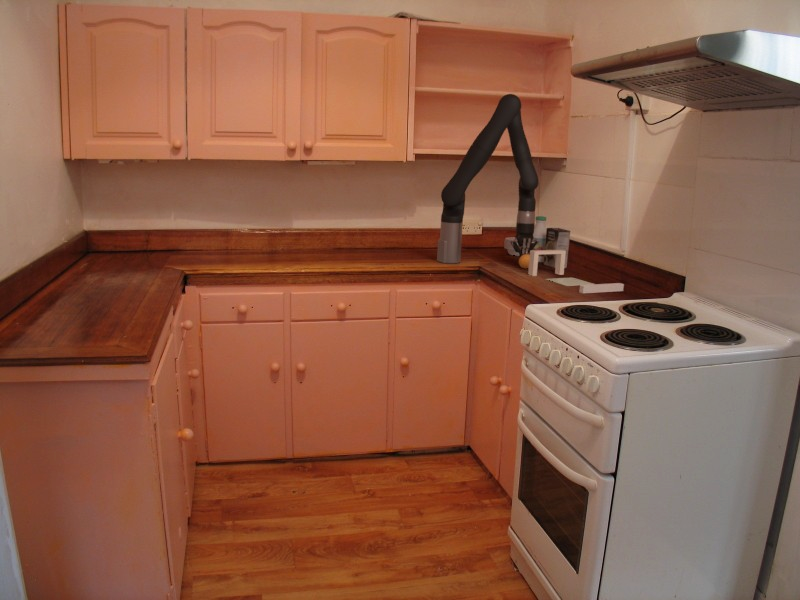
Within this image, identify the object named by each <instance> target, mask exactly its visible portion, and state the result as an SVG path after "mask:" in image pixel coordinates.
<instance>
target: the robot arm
mask: <svg viewBox="0 0 800 600" xmlns="http://www.w3.org/2000/svg"><path fill="white" fill-rule="evenodd" d="M521 111H522V101H521V99H520V98H519V96H518V95H516V94H513V93H508V94H505V95H503V96H502V97H501V98H500V99H499V100H498V104H497V106H496V108H495V110H494V112H493V113H492V116H491V118H490V119H489V121H488V122H487V123H486V125H485V126H484V128H482V130H481V131H480V132H479V134H478V135H477V136H476V138H475V139H474V140H473V142H472V143H471V145H470V147H469V148H468V150H467V152H466V153H465V155H464V157H463V159H462V160H461V163H460V164H459V166H458V168H457V170H456V172H454V174H453V176H452V177H451V178H450V180H449V181H448V182H447V184H445V186H444V187H443V189H442V190H441V195H440V198H441V201H442V203H443V205H442V213H441V215H440V231H439V234H440V236H439V238H438V239H437V250H436V251H437V252H436V253H437V255H436V261H437V262H439V263H442V264H460V263H461V255H462V253H461V252H462V241H463V240H462V239H463V221H464V215H465V207H466V206H465V205H466V190H467V189H468V187H469V186H470V184H471V182H472V181H473V179H474V178H475V177H476V176H477V175H478V174H479V173H480V172H481V170H482V169H483V168H484V167H485V166H486V164H488V161H489V160H490V159H491V157H492V155H493V153H494V152H495V150H496V149H497V147H498V145H499V142H500V140H501V139H502V137H503V135H504V133H505V131H506V129H507V133H508V137H509V142H510V148H511V152H512V157H513V161H514V163H515V167H516V169H517V171H518V173H519V180H518V206H517V215H516V224H515V225H516V226H515V233H516V234H515V239H514V240H513V241H511V242H510V243H511V245H512V246H513V248H514V250H515V251H516V252H518V253H519V256H518V257H519V258H520V257H521V256H522V255H524V254H528V253H529V252H530V250H533V248H534V247H535V246H536V244H537V243H538V241H536V240H534V239H533V238H534V237H533V233H534V227H535V224H536V204H537V203H536V201H537V200H536V198H535V193H536V192H535V190H537V188H538V186H539V184H540V181H539V176H538V173H537V170H536V168H535V165H534V162H533V158H532V153H531V148H530V146H529V142H528V140H527V137H526V133H525V130H524V126H523V120H522V112H521ZM517 244H518V245H517ZM519 258H518V259H519ZM459 262H460V263H459Z"/></svg>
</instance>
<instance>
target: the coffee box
mask: <svg viewBox="0 0 800 600" xmlns="http://www.w3.org/2000/svg"><path fill="white" fill-rule="evenodd" d="M546 229H547V231H546V242H545V250H565V251H566V255H565V265H564V269H566V268H567V265H568V257H569V247H570V239H571V237H570V236H571V230H569V229H565V228H561V227H546ZM556 257H557V254H544V262H543V265H544V266H547V267H551V268H553V269H555V268H556Z"/></svg>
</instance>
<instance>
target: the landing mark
mask: <svg viewBox="0 0 800 600" xmlns="http://www.w3.org/2000/svg"><path fill="white" fill-rule="evenodd" d="M545 280H546V281H549V280H550V282H552V281H553V282H552V283H556V284H559V285H563V286H565V287H571V286H572V287H573V286H580V285H594V284H595V283H593V282H589V281H586V280H582V279H579V278H575V277H557V278H554V277H553V278H545Z"/></svg>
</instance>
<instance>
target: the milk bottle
mask: <svg viewBox="0 0 800 600" xmlns="http://www.w3.org/2000/svg"><path fill="white" fill-rule="evenodd" d="M546 222H547V217H546V216H543V215H539V216H538V215H537V216H536V215H535V226H534V233H533V237H534V238H533V239H534V240H536V241H538V243H537V244H536V246H535V247H534V248H533V250H545V242H546V231H547V225H546ZM529 255H530V252H529ZM538 263H544V254H540V255H539V256H538Z"/></svg>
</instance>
